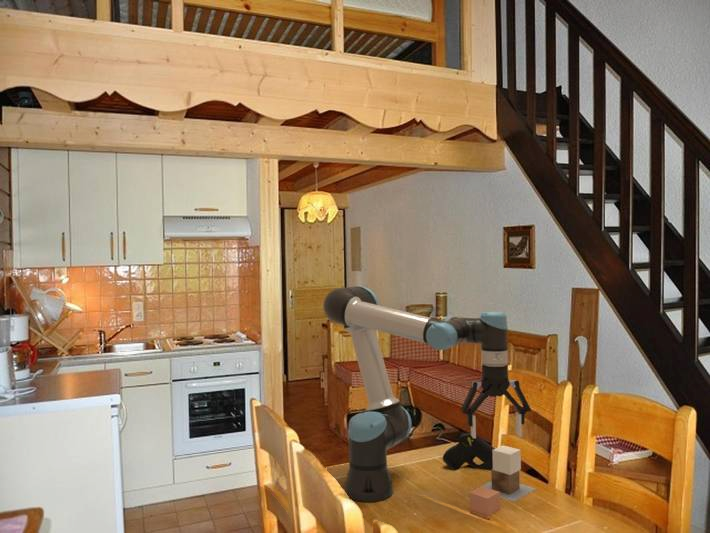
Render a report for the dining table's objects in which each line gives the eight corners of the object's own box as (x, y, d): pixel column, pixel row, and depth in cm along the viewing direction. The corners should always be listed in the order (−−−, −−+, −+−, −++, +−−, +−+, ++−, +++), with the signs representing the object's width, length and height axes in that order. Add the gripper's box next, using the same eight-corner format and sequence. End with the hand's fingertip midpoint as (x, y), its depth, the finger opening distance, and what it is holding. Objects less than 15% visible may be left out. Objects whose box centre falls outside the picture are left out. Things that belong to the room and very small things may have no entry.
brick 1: (469, 513, 154) (469, 492, 154) (481, 506, 158) (481, 486, 158) (488, 520, 150) (487, 498, 150) (500, 513, 154) (499, 492, 154)
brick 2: (491, 489, 168) (491, 469, 168) (502, 483, 172) (501, 464, 172) (509, 494, 163) (508, 474, 163) (519, 488, 167) (519, 468, 167)
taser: (441, 456, 192) (466, 424, 189) (483, 491, 187) (509, 458, 185) (439, 461, 188) (464, 427, 185) (482, 496, 184) (508, 462, 181)
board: (475, 493, 168) (475, 489, 168) (498, 480, 177) (498, 477, 177) (513, 506, 158) (513, 501, 158) (536, 492, 167) (536, 488, 167)
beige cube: (492, 469, 167) (492, 450, 167) (503, 464, 171) (502, 445, 171) (510, 475, 163) (510, 454, 163) (520, 469, 167) (520, 449, 167)
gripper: (455, 367, 158) (457, 441, 158) (541, 365, 159) (542, 438, 159) (450, 363, 165) (451, 433, 166) (531, 360, 167) (533, 430, 167)
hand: (496, 436), depth 162 cm, fingers open, 13 cm apart
